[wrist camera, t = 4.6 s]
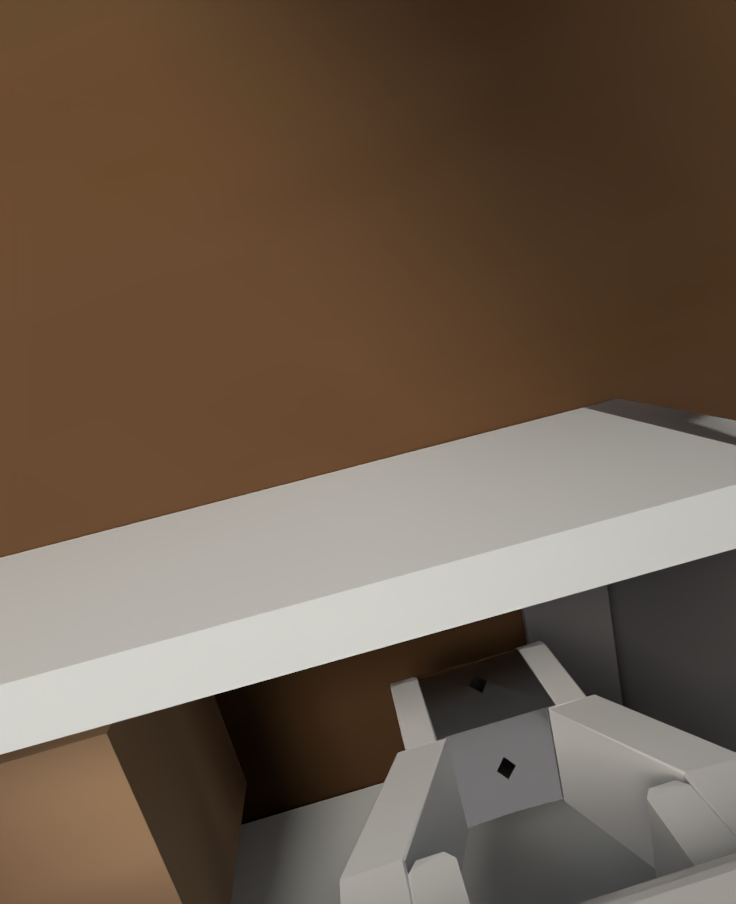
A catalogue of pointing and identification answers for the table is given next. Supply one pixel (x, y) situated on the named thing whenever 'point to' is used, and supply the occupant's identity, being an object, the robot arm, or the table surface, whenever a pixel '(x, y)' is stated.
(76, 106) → the table surface
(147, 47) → the table surface
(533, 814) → the white channel
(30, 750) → the light brown block
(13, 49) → the table surface
